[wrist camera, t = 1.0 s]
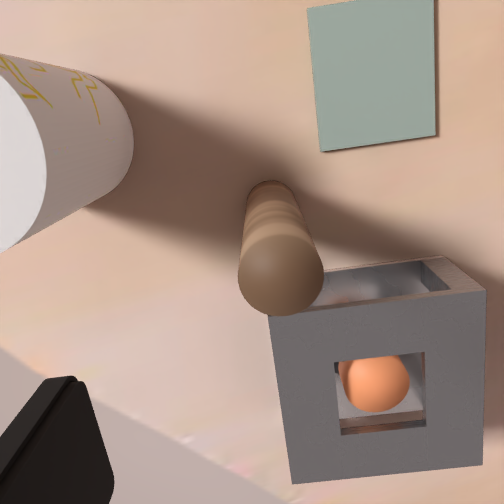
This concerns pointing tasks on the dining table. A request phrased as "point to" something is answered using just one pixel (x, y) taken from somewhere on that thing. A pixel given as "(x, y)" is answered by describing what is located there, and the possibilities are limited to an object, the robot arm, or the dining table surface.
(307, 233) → the brown wooden rod
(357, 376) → the breaker plunger
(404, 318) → the guard cage
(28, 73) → the cup
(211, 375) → the dining table surface
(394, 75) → the mat
